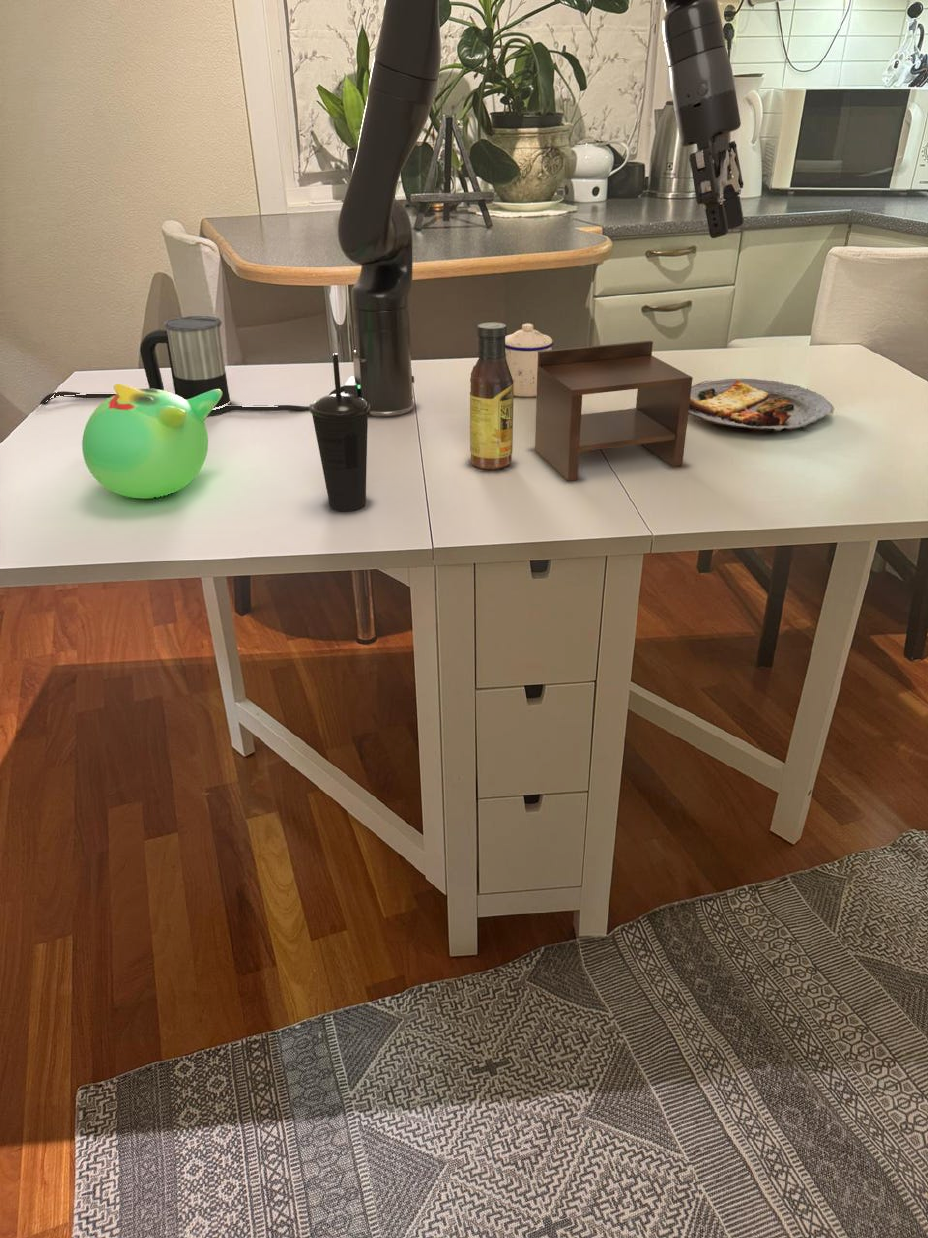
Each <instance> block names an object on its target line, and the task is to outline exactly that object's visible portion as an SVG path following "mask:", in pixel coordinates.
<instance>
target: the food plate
mask: <svg viewBox="0 0 928 1238" xmlns="http://www.w3.org/2000/svg"><path fill="white" fill-rule="evenodd" d="M834 412H835V407H834V405H833V404H832V403H831V402H830V401H829V400H828V399H826V397H824V395H822V394H820V393H818V392H816V391H813V390H811V389H809V388H808V387H807V388H805V387H802V386H801V385H796V384H790V383H785V382H783V381H777V380H767V379H757V378H724V379H719V380H718V379H717V380H710V379H709V380H704V381H702V382H699V383H696V384H694V385H692V387H691V396H690V404H689V413H688V415H691V416H693V417H695V418H698V419H700V420H701V419H702V420H704V421H707V422H710V423H712V424H713V425H719V426H725V427H730V428H740V429H741V428H742V429H750V430H755V431H761V430H764V431H770V432H773V431H775V432H780V431H782V430H783V429H786V430H789V431H792V430H795V429H799V428H801V427H803V428H805V427H806V426H808V425H810V424H812V423H816V422H817V421H818V420H820V419H824V417H825V416H827V415H829V414H834Z"/></svg>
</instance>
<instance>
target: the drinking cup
mask: <svg viewBox="0 0 928 1238" xmlns="http://www.w3.org/2000/svg"><path fill="white" fill-rule="evenodd" d="M339 361H340V360H339V354H338V353H332V365H333V377H334V388H335V389H334V390H336V394H331V395H329V394H327V395H325V396H323V397H320V398H319V399H317V400H314V401H313V402H311V403H310V404H309V406H308V407H309V413H310V414H311V415H312V420H313V427H314V431H315V437H316V442H317V447H318V452H319V457H320V464H321V467H322V472H323V477H324V484H325V489H326V493H327V500H328V504H329V507H330V509H332V510H333V511H337V512H347V513H348V512H355V511H358V510H360V509H362V508H364V507H365V506H366V503H367V468H368V465H367V464H368V463H367V461H368V426H369V425H368V421H369V420H368V419H369V416H368V410H369V409H370V403H369V402H368V401H367V400H366V399H363V398H360V397H357V396H354V395H351V394H345V392H341V387H342V385H341V373H340V363H339Z"/></svg>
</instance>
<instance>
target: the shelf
mask: <svg viewBox="0 0 928 1238" xmlns="http://www.w3.org/2000/svg"><path fill="white" fill-rule="evenodd" d="M653 345H654V341H653V340H643V341H632V342H631V341H629V342H621V343H611V344H600V345H590V346H588V345H587V346H578V347H569V348H558V349H557V348H556V349H552V350H546V351H538V365H537V370H538V371H537V396H535V397H536V400H535V437H534V451H535V452H536V453H537V454H538V455H539V456H540V457H541V458H543V459H544V461H546V462H547V463H548V464H549V465H550V466H551V467H552V468H553V469H554V470H555V471H556V472H557V473H558V474H560V475H561V476H562V477H563V478H564V479H565V481H567V482H572V481H578V479H579V464H580V463H579V461H580V452H587V451H594V450H602V449H604V450H605V449H611V448H619V447H620V448H621V447H627V446H635V445H642V446H644V447H645V448H646V449H647V450H649V451H651V452H652V453H653V454H654V455H656V456H657V457H659V458H660V459H662V460H663V462H666V463H667V464H668V465H669V466H671V467H672V468H676V467H682V466H683V462H684V454H685V446H686V439H687V438H686V437H687V430H688V429H687V428H688V422H689V421H688V419H689V414H688V413H689V404H690V396H691V387H692V386H693V380H694V379H693V378H694V377H693V376H691V375H689V374H687V373H686V372H683V371H682V370H680V369H678V368H676V367H674V366H672V365H671V364H669V363H667V362H665V361H663V360H661V359H659V358H658V357H655V356H654V355H653ZM631 390H637V391H636V403H635V408H626V409H616V410H609V411H599V412H591V413H583V414H582V408H583V403H582V402H583V396H584V395H595V394H602V393H610V392H611V393H612V392H621V391H631Z"/></svg>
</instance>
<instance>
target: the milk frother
mask: <svg viewBox="0 0 928 1238" xmlns="http://www.w3.org/2000/svg"><path fill="white" fill-rule="evenodd" d="M222 323H223V322H222V320H221V319H220V318H219V317H215V316H208V315H206V316H205V315H204V316H202V315H191V316H182V317H175V318H171V319H168V320H166V321H165V322H163V326H164V327H165V328H161V329H160V328H159V329H155V330H152V331H149V332H148V333H147V334H146V335H145V336H144V338H143V339H142V340H141V343H140V348H139V350H140V357H141V360H142V365H143V369H144V372H145V378H146V380H147V384H148V388H153V389H158V390H163V391H165V386H164V382H163V378H162V374H161V368H160V365H159V359H158V356H157V350H156V346H157V345H158V344H166V347H167V354H168V359H169V360H168V361H169V365H170V366H169V367H170V371H171V378H172V384H173V390H174V394H175V395H178V396H180V397H182V398H183V399H185V400H187V399H191V398H193V397H196V396H198V395H200V394H203V393H205V392H208V391H211V390H214V389H220V390H221V391H222V397H221V398H220V400H219V401H218V403H217V404H216V405H215V407H219V406H222V405H224V404H226V403H228V402H229V401H231V396H230V391H229V386H228V385H229V384H228V379H227V371H226V364H225V363H226V362H225V356H224V348H223V343H222V342H223V341H222V340H223V339H222V333H221V326H222ZM228 405H233V403H232V401H231V402H230V404H228ZM215 407H214V408H215ZM228 411H229V410H228V409H227V408H226V406H225V407H223V408H220V409H216V410H211V412H210V413H209V414H208V415H207V417H209V416H215V415H219V414H223V413H226V412H228Z"/></svg>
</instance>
